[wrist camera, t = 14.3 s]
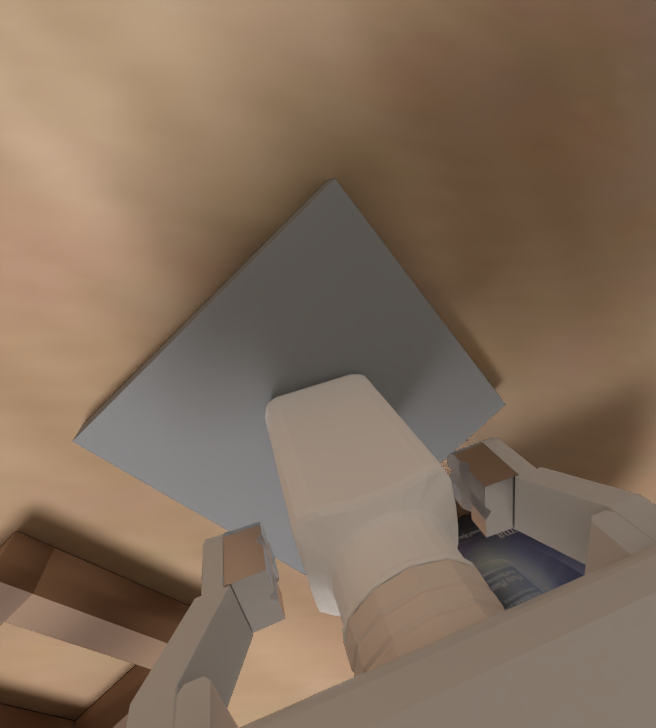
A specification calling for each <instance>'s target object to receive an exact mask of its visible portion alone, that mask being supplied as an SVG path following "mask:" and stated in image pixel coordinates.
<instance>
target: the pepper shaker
mask: <svg viewBox="0 0 656 728" xmlns="http://www.w3.org/2000/svg"><path fill="white" fill-rule="evenodd" d="M265 420H266V424H267V429H268V433H269V437H270V441H271V445H272V449H273V453H274V458H275V462H276V466H277V470H278V474H279V478H280V482H281V487H282V491H283V495H284V499H285V503H286V507H287V511H288V516H289V520H290V524H291V528H292V532H293V536H294V539H295V542H296V545H297V548H298V552H299V555H300V558H301V561H302V564H303V567H304V570H305V573H306V576H307V579H308V582H309V585H310V588H311V591H312V594H313V597H314V599H315V602H316V605H317V607H318V609H319V611H320V612H322V613H326V614H330V615H336V616H341V619H342V623H343V629H342V631H343V642H344V646H345V649H346V653H347V656H348V659H349V663H350V666H351V669H352V671H353V672H354V673H355V674H354V677H356V676H358V675H360V674H362V673H365V672H367V671H369V670H371V669H374V668H376V667H378V666H381V665H383V664H385V663H387V662H390V661H392V660H394V659H396V658H399V657H401V656H403V655H405V654H408V653H410V652H412V651H415V650H417V649H419V648H421V647H424V646H426V645H428V644H430V643H433V642H435V641H437V640H439V639H442V638H444V637H446V636H449V635H451V634H453V633H455V632H458V631H460V630H462V629H464V628H467V627H469V626H471V625H473V624H476V623H478V622H480V621H482V620H485V619H487V618H489V617H491V616H494V615H496V614H498V613H501V612H503V611H505V610H504V607H503V605H502V604H501V602H500V601H499V600H498V598H497V597H496V595H495V594H494V593H493V591H491V590H490V588H489V586H488V584H487V583H486V581H485V580H484V579H483V577H482V575H481V574H480V572H479V571H478V570H477V568H476V567H475V566H474V564H473V563H472V562H470V561H469V560H467V559H465V558H464V557H463V556H462V555H461V553H460V552H459V550H458V549H457V548H458V520H457V511H456V503H455V498H454V493H453V488H452V482H451V479H450V477H449V475H448V474H447V472H446V471H445V470H444V468H443V467H442V466H441V464H440V463H439V462H438V460H437V459H436V458H435V457H434V456H433V455H432V453H431V452H430V451H429V450H428V449H427V448H426V446H425V445H424V444H423V443H422V442H421V441H420V440H419V438H418V437H417V436H416V435H415V434H414V433H413V431H412V430H411V429H410V428H409V427H408V426H407V424H406V423H405V422H404V421H403V420H402V419H401V417H400V416H399V415H398V414H397V413H396V412H395V410H394V409H393V408H392V407H391V406H390V405H389V404H388V402H387V401H386V400H385V399H384V398H383V397H382V395H381V394H380V393H379V392H378V391H377V390H376V388H375V387H374V386H373V385H372V384H371V383H370V381H369V380H368V379H367V378H366V377H365V376H364V375H360V374H349V375H346V376H343V377H339V378H336V379H333V380H330V381H326V382H323V383H320V384H317V385H313V386H310V387H307V388H304V389H301V390H297V391H294V392H291V393H288V394H284V395H281V396H278V397H276V398H274V399H273V400H271V401H270V402H268V404H267V407H266V414H265Z"/></svg>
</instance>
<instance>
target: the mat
mask: <svg viewBox="0 0 656 728" xmlns="http://www.w3.org/2000/svg"><path fill="white" fill-rule="evenodd" d="M349 374H360V375H364V376H365V377H366V378H367V379H368V380H369V381H370V383H371V384H372V385H373V386H374V387H375V388H376V390H377V391H378V392H379V393H380V394H381V395H382V397H383V398H384V399H385V400H386V401H387V402H388V404H389V405H390V406H391V407H392V408H393V409H394V410H395V412H396V413H397V414H398V415H399V416H400V417H401V419H402V420H403V421H404V422H405V423H406V424H407V426H408V427H409V428H410V429H411V430H412V431H413V433H414V434H415V435H416V436H417V437H418V438H419V440H420V441H421V442H422V443H423V444H424V445H425V446H426V448H427V449H428V450H429V451H430V452H431V453H432V455H433V456H434V457H435V458H436V459H437V460H438V462H439V463H441V462H442V461H444V460H445V459H446V458H447V457H448V454H449V453H452V452H454V451H455V450H456V449H457V448H458V447H459V446H460V445H461V444H462V443H464V442H465V441H466V440H467V439H468V438H469V437H470V436H471V435H472V434H474V433H475V432H476V431H477V430H478V429H479V428H480V427H481V426H482V425H483V424H485V423H486V422H487V421H488V420H489V419H490V418H491V417H492V416H493V415H495V414H496V413H497V412H498V411H499V410H500V409H501V408H502V407H503V406H505V405H506V404H505V403H504V402H503V400H502V399H501V398H500V396H499V395H498V394H497V392H496V391H495V390H494V388H493V387H492V386H491V384H490V383H489V382H488V381H487V379H486V378H485V377H484V375H483V374H482V373H481V371H480V370H479V369H478V367H477V366H476V365H475V363H474V362H473V361H472V359H471V358H470V357H469V355H468V354H467V353H466V351H465V350H464V349H463V347H462V346H461V345H460V343H459V342H458V341H457V339H456V338H455V337H454V335H453V334H452V333H451V331H450V330H449V329H448V327H447V326H446V325H445V323H444V322H443V321H442V319H441V318H440V317H439V315H438V314H437V313H436V311H435V310H434V309H433V307H432V306H431V305H430V303H429V302H428V301H427V300H426V298H425V297H424V296H423V294H422V293H421V292H420V290H419V289H418V288H417V286H416V285H415V284H414V282H413V281H412V280H411V278H410V277H409V276H408V274H407V273H406V272H405V270H404V269H403V268H402V266H401V265H400V264H399V262H398V261H397V260H396V258H395V257H394V256H393V254H392V253H391V252H390V250H389V249H388V248H387V246H386V245H385V244H384V242H383V241H382V240H381V238H380V237H379V236H378V234H377V233H376V232H375V230H374V229H373V228H372V226H371V225H370V224H369V222H368V221H367V220H366V219H365V217H364V216H363V215H362V213H361V212H360V211H359V209H358V208H357V207H356V205H355V204H354V203H353V201H352V200H351V199H350V197H349V196H348V195H347V193H346V192H345V191H344V189H343V188H342V187H341V185H340V184H339V183H338V181H337V180H336V179H331V180H327V181H326V182H325V183H324V184H323V185H322V186H321V187H320V188H319V189H318V190H317V191H316V192H315V193H314V194H313V195H312V196H311V197H310V198H309V199H308V200H307V201H306V202H305V203H304V204H303V205H302V206H301V207H300V208H299V209H298V210H297V211H296V212H295V213H294V214H293V215H292V216H291V217H290V218H289V219H288V220H287V221H286V222H285V223H284V224H283V225H282V226H281V227H280V228H279V229H278V230H277V231H276V232H275V233H274V234H273V235H272V236H271V237H270V238H269V239H268V240H267V241H266V242H265V243H264V244H263V245H262V246H261V247H260V248H259V249H258V250H257V251H256V252H255V253H254V254H253V255H252V256H251V257H250V258H249V259H248V260H247V261H246V262H245V263H244V264H243V265H242V266H241V267H240V268H239V269H238V270H237V271H236V272H235V273H234V274H233V275H232V276H231V277H230V278H229V279H228V280H227V281H226V282H225V283H224V284H223V285H222V286H221V287H220V288H219V289H218V290H217V291H216V292H215V293H214V294H213V295H212V296H211V297H210V298H209V299H208V300H207V301H206V302H205V303H204V304H203V305H202V306H201V307H200V308H199V309H198V310H197V311H196V312H195V313H194V314H193V315H192V316H191V317H190V318H189V319H188V320H187V321H186V322H185V323H184V324H183V325H182V326H181V327H180V328H179V329H178V330H177V331H176V332H175V333H174V334H173V335H172V336H171V337H170V338H169V339H168V340H167V341H166V342H165V343H164V344H163V345H162V346H161V347H160V348H159V349H158V350H157V351H156V352H155V353H154V354H153V355H152V356H151V357H150V358H149V359H148V360H147V361H146V362H145V363H144V364H143V365H142V366H141V367H140V368H139V369H138V370H137V371H136V372H135V373H134V374H133V375H132V376H131V377H130V378H129V379H128V380H127V381H126V382H125V383H124V384H123V385H122V386H121V387H120V388H119V389H118V390H117V391H116V392H115V393H114V394H113V395H112V396H111V397H110V398H109V399H108V400H107V401H106V402H105V403H104V404H103V405H102V406H101V407H100V408H99V409H98V410H97V411H96V412H95V413H94V414H93V415H92V416H91V417H90V418H89V419H88V420H87V421H86V422H85V423H84V424H83V425H82V427H81V428H80V430H79V432H78V433H77V435H76V437H75V438H74V440H73V442H74V443H76V444H78V445H80V446H81V447H83V448H85V449H86V450H88V451H90V452H92V453H93V454H95V455H97V456H99V457H100V458H102V459H104V460H106V461H107V462H109V463H111V464H113V465H114V466H116V467H118V468H120V469H121V470H123V471H125V472H127V473H128V474H130V475H132V476H134V477H135V478H137V479H139V480H141V481H142V482H144V483H146V484H148V485H149V486H151V487H153V488H155V489H156V490H158V491H160V492H161V493H163V494H165V495H167V496H168V497H170V498H172V499H174V500H175V501H177V502H179V503H181V504H182V505H184V506H186V507H188V508H189V509H191V510H193V511H195V512H196V513H198V514H200V515H202V516H203V517H205V518H207V519H209V520H210V521H212V522H214V523H216V524H217V525H219V526H221V527H223V528H224V529H226V530H228V531H232V530H235V529H238V528H242V527H245V526H248V525H251V524H254V523H257V522H260V521H261V522H262V524H263V527H264V529H265V533H266V539H267V542H269V543H270V545H271V548H272V551H273V555H274V557H275V558H277V559H278V560H280V561H282V562H284V563H285V564H287V565H289V566H291V567H292V568H294V569H296V570H298V571H299V572H301V573H303V574H305V575H306V573H305V570H304V567H303V564H302V561H301V558H300V555H299V552H298V548H297V545H296V542H295V539H294V536H293V532H292V528H291V524H290V520H289V516H288V511H287V507H286V503H285V499H284V495H283V491H282V487H281V482H280V478H279V474H278V470H277V466H276V462H275V458H274V453H273V449H272V445H271V441H270V437H269V433H268V429H267V424H266V420H265V414H266V407H267V404H268V402H270V401H271V400H273V399H274V398H276V397H278V396H281V395H284V394H288V393H291V392H294V391H297V390H301V389H304V388H307V387H310V386H313V385H317V384H320V383H323V382H326V381H330V380H333V379H336V378H339V377H343V376H346V375H349Z"/></svg>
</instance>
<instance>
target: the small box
mask: <svg viewBox="0 0 656 728" xmlns="http://www.w3.org/2000/svg"><path fill="white" fill-rule="evenodd" d="M457 520H458V548H457V549H458V550H459V552H460V553H461V555H462V556H463V557H464V558H465V559H467V560H469V561H470V562H472V563H473V564H474V566H475V567H476V568H477V570H478V571H479V572H480V574H481V575H482V577H483V579H484V580H485V581H486V583H487V584H488V586H489V588H490V590H491V591H493V593H494V594H495V595H496V597H497V598H498V600H499V601H500V602H501V604H502V605H503V607H504V610H507V609H510V608H512V607H514V606H516V605H519V604H521V603H523V602H525V601H528V600H530V599H532V598H534V597H537V596H539V595H541V594H543V593H546V592H548V591H550V590H552V589H555V588H557V587H559V586H561V585H564V584H566V583H568V582H571V581H573V580H575V579H577V578H580V577H582V576H584V574H585V566H586V565H585V564H583V563H581V562H579V561H577V560H575V559H573V558H571V557H569V556H567V555H565V554H563V553H561V552H559V551H557V550H555V549H553V548H551V547H549V546H547V545H545V544H543V543H541V542H539V541H537V540H535V539H533V538H532V537H530V536H528V535H526V534H524V533H522V532H520V531H518V530H516V529H514V528H511V529H508V530H506V531H503V532H500V533H497V534H495V535H492V536H489V537H486V536H485V535H484V534H483V533H482V531H481V530H480V529H479V528H478V527H477V525H476V524H475V523H474V522H473V521H472V516H471V514H469V515H467V516H464V517H461V518H459V519H457Z"/></svg>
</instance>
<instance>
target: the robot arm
mask: <svg viewBox="0 0 656 728" xmlns="http://www.w3.org/2000/svg"><path fill="white" fill-rule="evenodd" d="M447 462H448V466H449V467H450V468H451V469H452V472H451V474H450V475H449V477H450V479H451V482H452V488H453V493H454V497H455V499H456V500H457V502H458V503H459V505H460V506H461V507H462V508H463V509H466V510H468V511H471V516H472V521H473V522H474V523H475V524H476V525H477V527H478V528H479V529H480V530H481V531H482V533H483V534H484V535H485V536H486V537H489V536H492V535H495V534H497V533H500V532H503V531H506V530H508V529H511V528H514V529H516V530H518V531H520V532H522V533H524V534H526V535H528V536H530V537H532V538H533V539H535V540H537V541H539V542H541V543H543V544H545V545H547V546H549V547H551V548H553V549H555V550H557V551H559V552H561V553H563V554H565V555H567V556H569V557H571V558H573V559H575V560H577V561H579V562H581V563H583V564H585V565H586V566H585V574H584V576H582V577H580V578H577V579H575V580H573V581H571V582H568V583H566V584H564V585H561V586H559V587H557V588H555V589H552V590H550V591H548V592H546V593H543V594H541V595H539V596H537V597H534V598H532V599H530V600H528V601H525V602H523V603H521V604H519V605H516V606H514V607H512V608H510V609H507V610H505V611H503V612H501V613H498V614H496V615H494V616H491V617H489V618H487V619H485V620H482V621H480V622H478V623H476V624H473V625H471V626H469V627H467V628H464V629H462V630H460V631H458V632H455V633H453V634H451V635H449V636H446V637H444V638H442V639H439V640H437V641H435V642H433V643H430V644H428V645H426V646H424V647H421V648H419V649H417V650H415V651H412V652H410V653H408V654H405V655H403V656H401V657H399V658H396V659H394V660H392V661H390V662H387V663H385V664H383V665H381V666H378V667H376V668H374V669H371V670H369V671H367V672H365V673H362V674H360V675H358V676H356V677H353V678H351V679H349V680H347V681H344V682H342V683H340V684H338V685H335V686H333V687H331V688H328V689H326V690H324V691H322V692H319V693H317V694H315V695H313V696H310V697H308V698H306V699H304V700H301V701H299V702H297V703H294V704H292V705H290V706H288V707H285V708H283V709H281V710H279V711H276V712H274V713H272V714H270V715H267V716H265V717H263V718H260V719H258V720H256V721H254V722H251V723H249V724H247V725H245V726H242V727H240V728H656V505H655V504H654V503H652V502H651V501H649V500H648V499H646V498H645V497H643V496H642V495H641V494H637V493H633V492H630V491H626V490H623V489H619V488H615V487H612V486H608V485H605V484H601V483H597V482H594V481H590V480H587V479H583V478H579V477H576V476H572V475H569V474H565V473H561V472H558V471H554V470H550V469H547V468H543V467H539V468H537V469H536V468H535V467H534V466H533V465H531V464H530V463H529V462H528V461H527V460H525V459H524V458H523V457H522V456H520V455H519V454H518V453H517V452H515V451H514V450H513V449H512V448H510V447H509V446H508V445H507V444H505V443H504V442H503V441H502V440H500V439H499V438H497V437H492V438H489V439H487V440H484V441H481V442H479V443H476V444H474V445H471V446H468V447H466V448H463V449H460V450H457V451H455V452H452V453H449V454H448V457H447ZM278 580H279V577H278V571H277V566H276V562H275V558H274V555H273V551H272V548H271V545H270V543H269V542H267V539H266V533H265V529H264V527H263V524H262V522H261V521H260V522H257V523H254V524H251V525H248V526H245V527H242V528H238V529H235V530H232V531H229V532H226V533H224V534H222V535H219V536H216V537H213V538H210V539H206V540H205V542H204V545H203V561H202V584H201V596H200V597H197V598H195V599H194V601H193V603H192V604H191V606H190V607H189V609H188V611H187V612H186V614H185V616H184V617H183V619H182V620H181V622H180V624H179V625H178V627H177V629H176V630H175V632H174V634H173V635H172V637H171V638H170V640H169V642H168V643H167V645H166V647H165V648H164V650H163V651H162V653H161V655H160V656H159V658H158V660H157V661H156V663H155V664H154V666H153V668H152V669H151V671H150V673H149V674H148V676H147V678H146V679H145V681H144V682H143V684H142V686H141V687H140V689H139V691H138V692H137V694H136V695H135V697H134V699H133V700H132V702H131V704H130V708H129V713H128V719H127V724H126V728H238V726H237V724H236V723H235V721H234V719H233V718H232V716H231V714H230V712H229V711H228V709H227V707H228V704H229V701H230V698H231V696H232V693H233V690H234V687H235V685H236V682H237V679H238V676H239V673H240V671H241V668H242V665H243V662H244V659H245V657H246V654H247V651H248V648H249V646H250V643H251V640H252V637H253V634H252V633H254V632H256V631H258V630H260V629H263V628H265V627H267V626H270V625H272V624H274V623H276V622H279V621H281V620H283V619H285V613H284V607H283V601H282V594H281V592H280V589H279V586H278V584H277V582H278Z"/></svg>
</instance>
